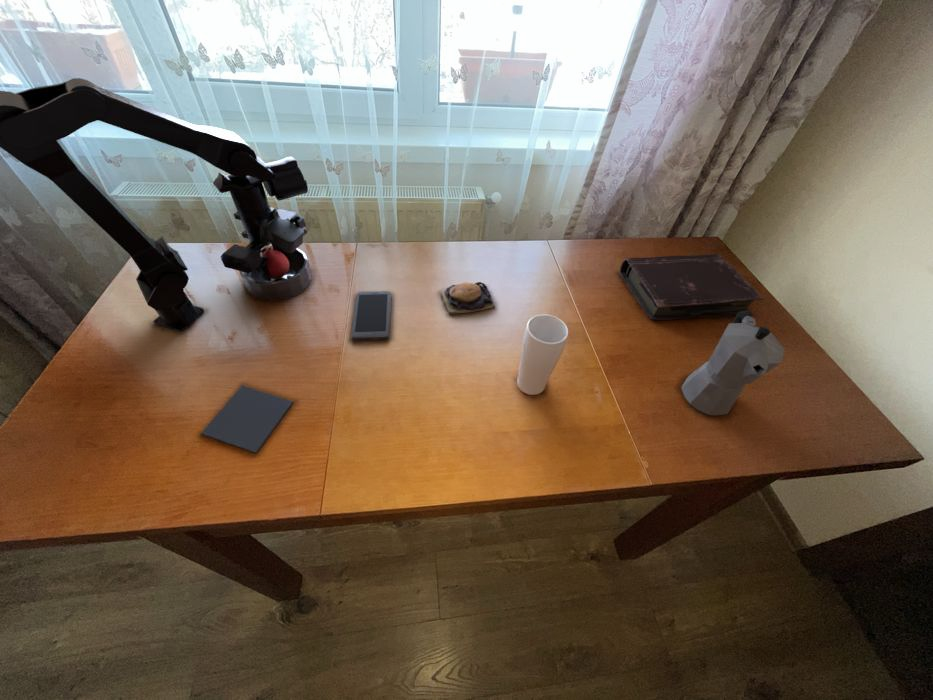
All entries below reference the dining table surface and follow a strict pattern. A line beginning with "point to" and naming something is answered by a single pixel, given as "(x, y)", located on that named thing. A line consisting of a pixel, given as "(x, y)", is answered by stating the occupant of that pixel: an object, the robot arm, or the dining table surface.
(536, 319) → the tall white cup
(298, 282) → the bowl
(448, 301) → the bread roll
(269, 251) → the red rounded piece
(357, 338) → the cell phone
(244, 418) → the mat
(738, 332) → the coffeepot
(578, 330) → the dining table surface
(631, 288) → the diary
